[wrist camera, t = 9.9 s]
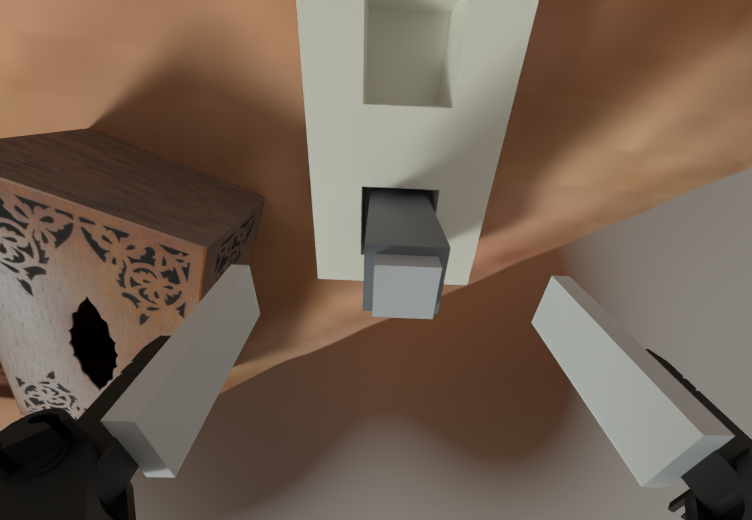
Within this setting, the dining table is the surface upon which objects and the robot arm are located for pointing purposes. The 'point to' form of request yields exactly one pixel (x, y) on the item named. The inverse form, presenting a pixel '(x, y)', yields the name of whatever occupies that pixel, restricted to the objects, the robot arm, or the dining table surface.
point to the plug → (403, 255)
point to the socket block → (406, 113)
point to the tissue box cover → (103, 258)
